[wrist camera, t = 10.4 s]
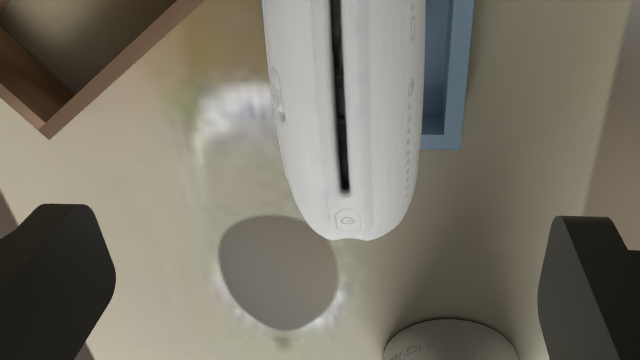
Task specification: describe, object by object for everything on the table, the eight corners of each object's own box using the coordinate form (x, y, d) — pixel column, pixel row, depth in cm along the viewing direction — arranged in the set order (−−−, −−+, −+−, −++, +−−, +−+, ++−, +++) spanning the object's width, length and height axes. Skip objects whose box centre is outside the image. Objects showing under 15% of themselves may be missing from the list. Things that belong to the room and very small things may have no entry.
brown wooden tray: (236, -30, 24) (217, -12, 21) (78, 112, 29) (49, 140, 27) (124, -167, 21) (88, -164, 19) (-26, 17, 27) (-69, 37, 24)
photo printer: (414, 94, 26) (421, 278, 16) (325, 95, 26) (277, 272, 16) (422, -158, 20) (442, -127, 10) (308, -150, 20) (216, -111, 10)
